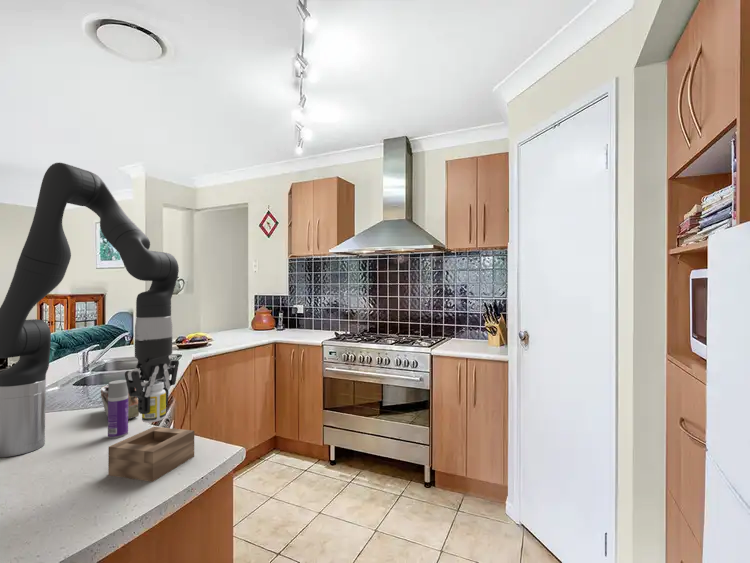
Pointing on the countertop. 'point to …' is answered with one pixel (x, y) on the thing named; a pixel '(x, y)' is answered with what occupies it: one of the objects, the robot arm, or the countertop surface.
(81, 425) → the countertop surface
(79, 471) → the countertop surface
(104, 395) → the decorative box
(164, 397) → the supplement bottle
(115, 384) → the container
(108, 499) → the countertop surface
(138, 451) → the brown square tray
